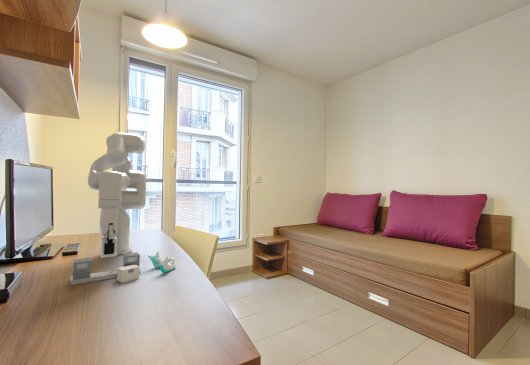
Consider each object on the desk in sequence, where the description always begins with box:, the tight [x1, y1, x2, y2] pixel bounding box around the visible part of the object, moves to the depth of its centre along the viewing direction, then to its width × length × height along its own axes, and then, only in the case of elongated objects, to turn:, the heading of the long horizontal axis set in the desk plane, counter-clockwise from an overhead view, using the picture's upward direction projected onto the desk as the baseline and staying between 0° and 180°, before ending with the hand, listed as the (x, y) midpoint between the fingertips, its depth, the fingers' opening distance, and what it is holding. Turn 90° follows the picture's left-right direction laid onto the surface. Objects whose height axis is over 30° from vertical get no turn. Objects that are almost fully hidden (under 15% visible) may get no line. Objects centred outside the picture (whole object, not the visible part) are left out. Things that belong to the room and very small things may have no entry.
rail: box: [70, 251, 142, 286], centre depth 98 cm, size 5×22×8 cm, turn 127°
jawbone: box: [147, 251, 176, 274], centre depth 109 cm, size 12×8×9 cm, turn 45°
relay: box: [116, 264, 140, 284], centre depth 97 cm, size 4×6×4 cm
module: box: [100, 237, 118, 259], centre depth 99 cm, size 5×5×6 cm
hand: (108, 252), depth 98 cm, fingers closed on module, 4 cm apart
